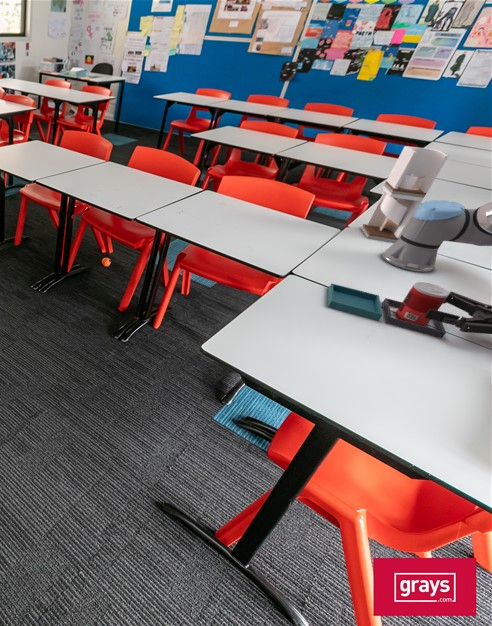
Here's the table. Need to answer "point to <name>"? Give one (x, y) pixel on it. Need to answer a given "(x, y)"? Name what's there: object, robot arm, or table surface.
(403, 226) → the white tiered tower
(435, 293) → the canned food
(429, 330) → the tray
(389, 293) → the table surface
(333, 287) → the tray
